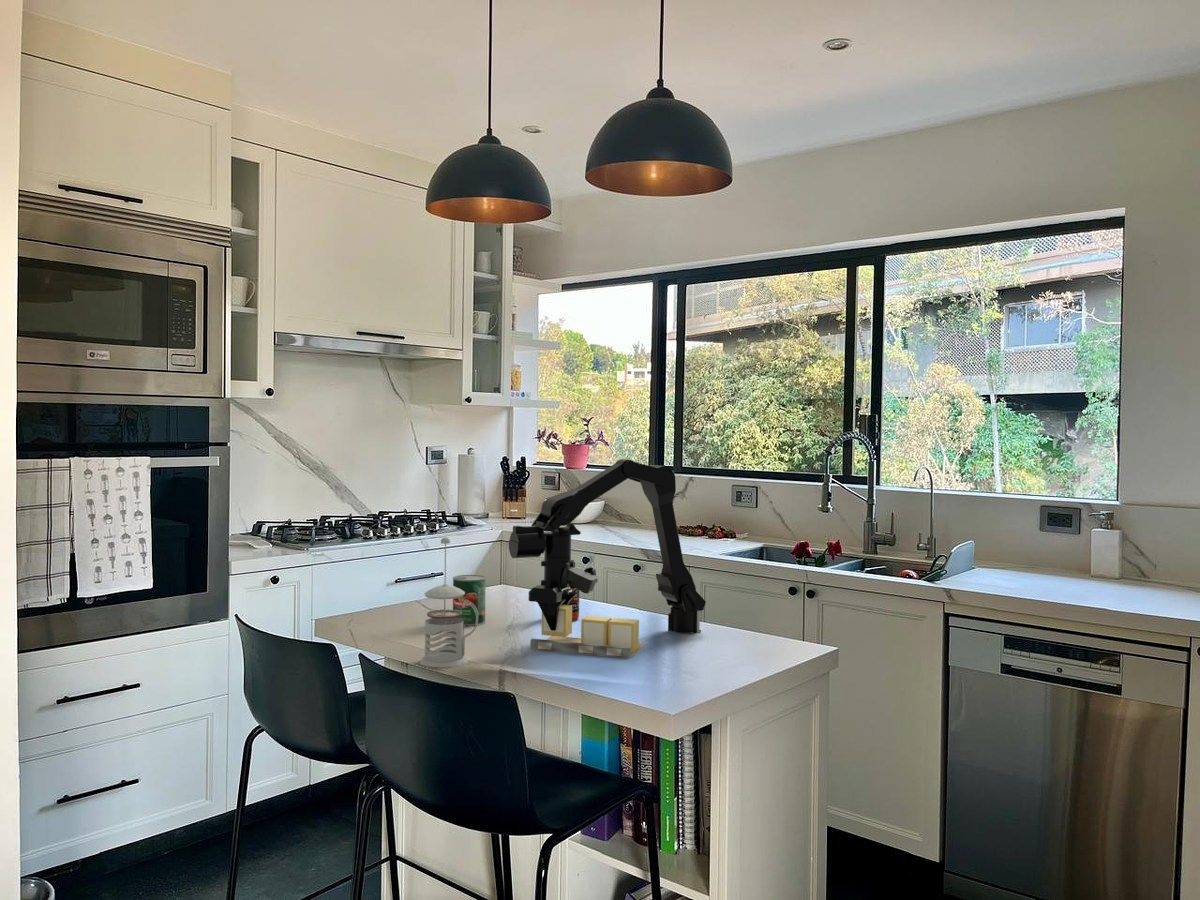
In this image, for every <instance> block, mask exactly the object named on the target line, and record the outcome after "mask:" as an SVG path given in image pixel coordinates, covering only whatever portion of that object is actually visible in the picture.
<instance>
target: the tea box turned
mask: <svg viewBox="0 0 1200 900" xmlns="http://www.w3.org/2000/svg"><path fill="white" fill-rule="evenodd" d="M572 633H573V621H572V605H560V607H559V614H558V621H557V627H556V630H555V631H552V630H550V628H549V625H548V623H547V621H546V619H545V616H544V614H543V612H542V611H541V636H549V637H551V636H560V637H569V636H570V635H571V634H572Z"/></svg>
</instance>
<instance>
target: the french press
mask: <svg viewBox="0 0 1200 900" xmlns="http://www.w3.org/2000/svg"><path fill="white" fill-rule="evenodd" d="M440 544H444V583H443V584H441V585H437V586H434V587H433V588H430V589H429V590H427V591H425V592H424V596H425V597H426V598H427V599H433V600H443V601H444V602H443V603H444V604H443V607H444V609H440V608H439V609H433V610H430V611H428V612H427V613H426V616H427V617H429V618H427V619H425V621H424V625H425V626H424V627H425V628H424V656H423V657H422V658H421V659H420V660H419V664H420V665H423V666H424V667H430V668H452V667H460V666H463V665H465V664H467V663H469V658H468V657H467V656H466V655H465V647H466V645H465V644H466V643H465V640H466V639H465V638H467V637H469V636H471V634H473V633H474V632H475V631H476V628H477V627H478V625H477V624H478V615H479V614H478V611H477V609H476V606H475V605H474V604H473V603H472V602H470V601H468V600H464V602H463V603H462V604H463V608H464V607H465V603H467V604H469V605H470V606H471V607H472V608H473V609H474V607H475V609H476V610H475V609H474V611H475V614H476V625H475V626H474V628H473V629H472V630H471V631H470V632H469V633H466V634H465V635H464V633H465V631H464V630H465V629H464V627H465V626H464V619H462V618H458V617H460V616H461V615H462V614H463V613H462V612H461V611H459V610H453V609H447V608H446V600H453V599H455V598H460V597H463V596H464V595H465V592H464V591H463V590H461V589H459V588H457V587H454V586H453V585H448V584H447V583H446V577H447V576H446V573H447V572H446V571H447V570H446V569H447V568H446V567H447V563H446V562H447V544H451V539H450V538H449V537H442V538H441V539H440ZM466 601H468V602H470V603H471V604H472V605H473V606H474V607H473V606H472V605H471V604H470V603H468V602H466ZM476 612H477V613H476ZM453 622H455V623H458V624H454V623H453ZM447 623H451V624H447ZM445 631H447V632H445ZM443 632H445V633H443ZM435 635H436V636H435ZM431 636H434V637H431ZM443 638H445V639H443ZM441 639H443V640H441ZM436 641H437V642H436ZM431 642H435V643H431ZM444 644H445V645H444ZM441 645H443V646H441ZM438 646H441V647H438ZM436 647H438V648H436ZM431 648H432V649H431ZM433 648H436V649H433Z"/></svg>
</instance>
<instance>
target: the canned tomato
mask: <svg viewBox="0 0 1200 900" xmlns="http://www.w3.org/2000/svg"><path fill="white" fill-rule="evenodd" d="M486 579H487V578H486V576H484V575H480V574H460V575H455V576H453V577H452V586H454V587H457V588H459V589H461V590H463V591H464V592H465V595H464V596H463V597H460V598H455V599H452V610H459V611H461V612H462V613H463V614H462V615H461V616H460V617H458V618H462V619H464V625H476V614H475V611H474V609H475V607H474V606H473V605H472V604H471V603H470V602H472V603H473V604H474V605H475V606H476V609H477V611H478V614H479V615H478V624H477V626H480V625H479V624H481V625H484V624H485V623H486V586H487V583H486ZM464 600H468V601H470V602H468V601H466V602H468V603H470V604H471V605H472V606H473V607H474V609H473V608H472V607H471V606H470V605H469V604H467V603H465V607H464V608H463V604H462V603H463V602H464ZM476 609H475V610H476ZM476 613H477V612H476ZM483 623H484V624H483ZM452 624H458V623H455V622H452Z"/></svg>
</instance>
